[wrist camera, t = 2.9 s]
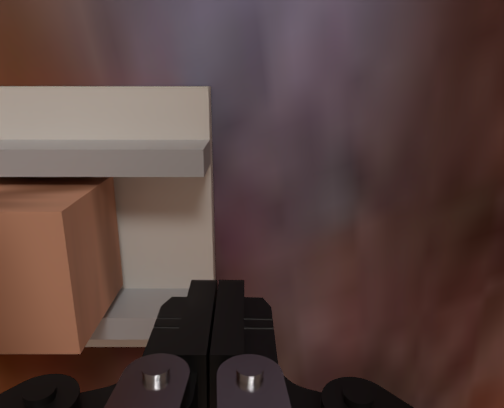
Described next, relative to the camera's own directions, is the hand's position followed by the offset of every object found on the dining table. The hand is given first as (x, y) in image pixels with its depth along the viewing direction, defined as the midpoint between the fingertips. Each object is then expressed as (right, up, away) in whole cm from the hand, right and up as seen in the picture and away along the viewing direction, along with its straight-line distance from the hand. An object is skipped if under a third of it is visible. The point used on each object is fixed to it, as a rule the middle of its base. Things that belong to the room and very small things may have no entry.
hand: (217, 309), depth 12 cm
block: (-8, +2, +7) cm, 10 cm away
